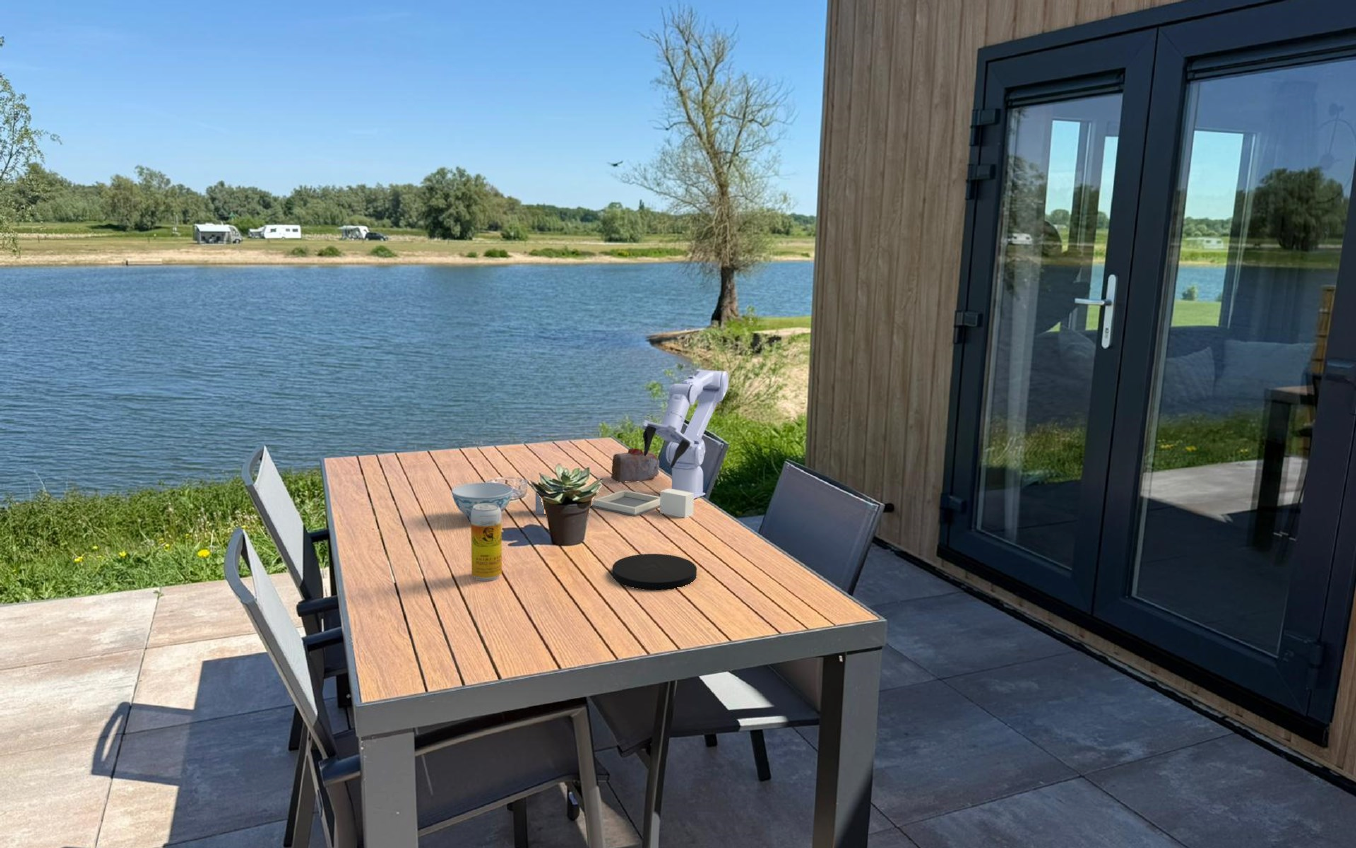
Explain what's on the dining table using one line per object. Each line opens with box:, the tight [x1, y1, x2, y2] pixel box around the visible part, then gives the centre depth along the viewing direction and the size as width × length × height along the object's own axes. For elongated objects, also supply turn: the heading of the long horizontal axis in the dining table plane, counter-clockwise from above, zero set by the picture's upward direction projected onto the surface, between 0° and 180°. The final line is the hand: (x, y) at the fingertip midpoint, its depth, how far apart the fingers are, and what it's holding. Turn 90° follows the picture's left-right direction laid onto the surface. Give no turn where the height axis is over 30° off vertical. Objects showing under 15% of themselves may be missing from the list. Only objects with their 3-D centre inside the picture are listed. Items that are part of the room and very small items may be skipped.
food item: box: [610, 447, 660, 483], centre depth 264 cm, size 14×8×10 cm, turn 121°
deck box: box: [659, 488, 695, 519], centre depth 228 cm, size 4×8×6 cm, turn 57°
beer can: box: [470, 503, 503, 582], centre depth 177 cm, size 6×6×15 cm
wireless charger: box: [611, 553, 698, 591], centre depth 182 cm, size 18×18×2 cm
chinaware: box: [451, 482, 514, 522], centre depth 218 cm, size 15×15×8 cm
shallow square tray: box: [591, 489, 660, 517], centre depth 235 cm, size 15×15×2 cm
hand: (658, 459), depth 224 cm, fingers open, 7 cm apart
